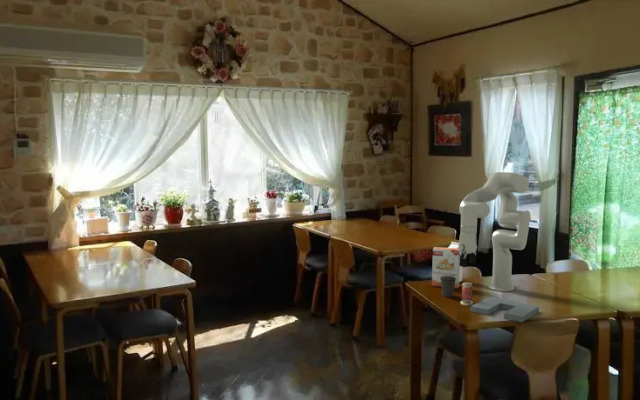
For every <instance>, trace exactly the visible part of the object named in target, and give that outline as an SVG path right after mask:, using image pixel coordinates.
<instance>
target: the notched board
mask: <svg viewBox="0 0 640 400" xmlns="http://www.w3.org/2000/svg"><path fill="white" fill-rule="evenodd" d="M500 309H502V310H506V311H505V312H503V319H504V320H509V321H513V322H514V321H515V322H518V323H523V322H525V321H527V320H528V319H530V318H532V317H533V316H534V315H536V314H538V313H539V312H540V306H539V305H533V304H527V303H523V302H517V301H513V300H506V299H502V298H496V297H486V298H485V299H482V300H480V301H478V302H476V303H475V304H474V303H473V305H471V306H470V312H471V313H475V314H481V315H485V316H488V315H490V314H492V313H494V312H496V311H498V310H500Z"/></svg>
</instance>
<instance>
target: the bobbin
mask: <svg viewBox="0 0 640 400" xmlns="http://www.w3.org/2000/svg"><path fill="white" fill-rule="evenodd" d="M461 285H462V286H461V300H460V305H461V306H467V307H468V306H470V307H471V306H472V305H474V302H473V301H472V299H473V283H472V282H462V284H461Z"/></svg>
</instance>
